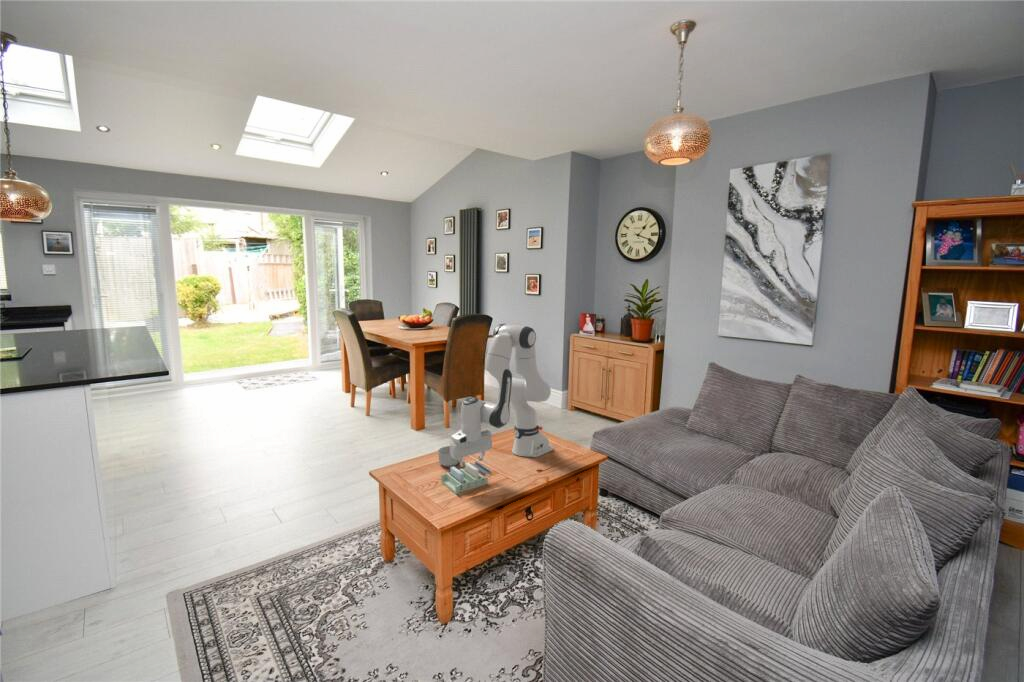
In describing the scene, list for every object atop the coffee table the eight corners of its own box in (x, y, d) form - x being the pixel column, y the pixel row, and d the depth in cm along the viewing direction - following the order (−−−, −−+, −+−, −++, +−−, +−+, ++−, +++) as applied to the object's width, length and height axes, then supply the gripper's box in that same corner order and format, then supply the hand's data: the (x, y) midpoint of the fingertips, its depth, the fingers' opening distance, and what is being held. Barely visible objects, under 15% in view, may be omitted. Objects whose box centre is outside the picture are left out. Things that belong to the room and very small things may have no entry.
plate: (468, 474, 209) (468, 462, 208) (478, 482, 202) (478, 469, 201) (465, 475, 208) (465, 463, 207) (475, 483, 201) (475, 470, 200)
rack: (471, 473, 214) (471, 459, 212) (487, 484, 202) (487, 469, 201) (441, 482, 204) (440, 467, 203) (456, 494, 193) (455, 478, 192)
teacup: (456, 470, 217) (456, 454, 216) (434, 468, 219) (434, 452, 218) (465, 458, 230) (464, 443, 229) (444, 457, 233) (444, 442, 231)
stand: (477, 464, 224) (477, 460, 224) (491, 473, 213) (491, 470, 213) (468, 466, 221) (468, 463, 221) (482, 476, 211) (482, 472, 210)
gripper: (487, 427, 211) (487, 455, 213) (447, 436, 199) (448, 466, 202) (494, 431, 206) (494, 459, 208) (454, 441, 194) (455, 471, 197)
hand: (471, 463), depth 205 cm, fingers open, 8 cm apart
